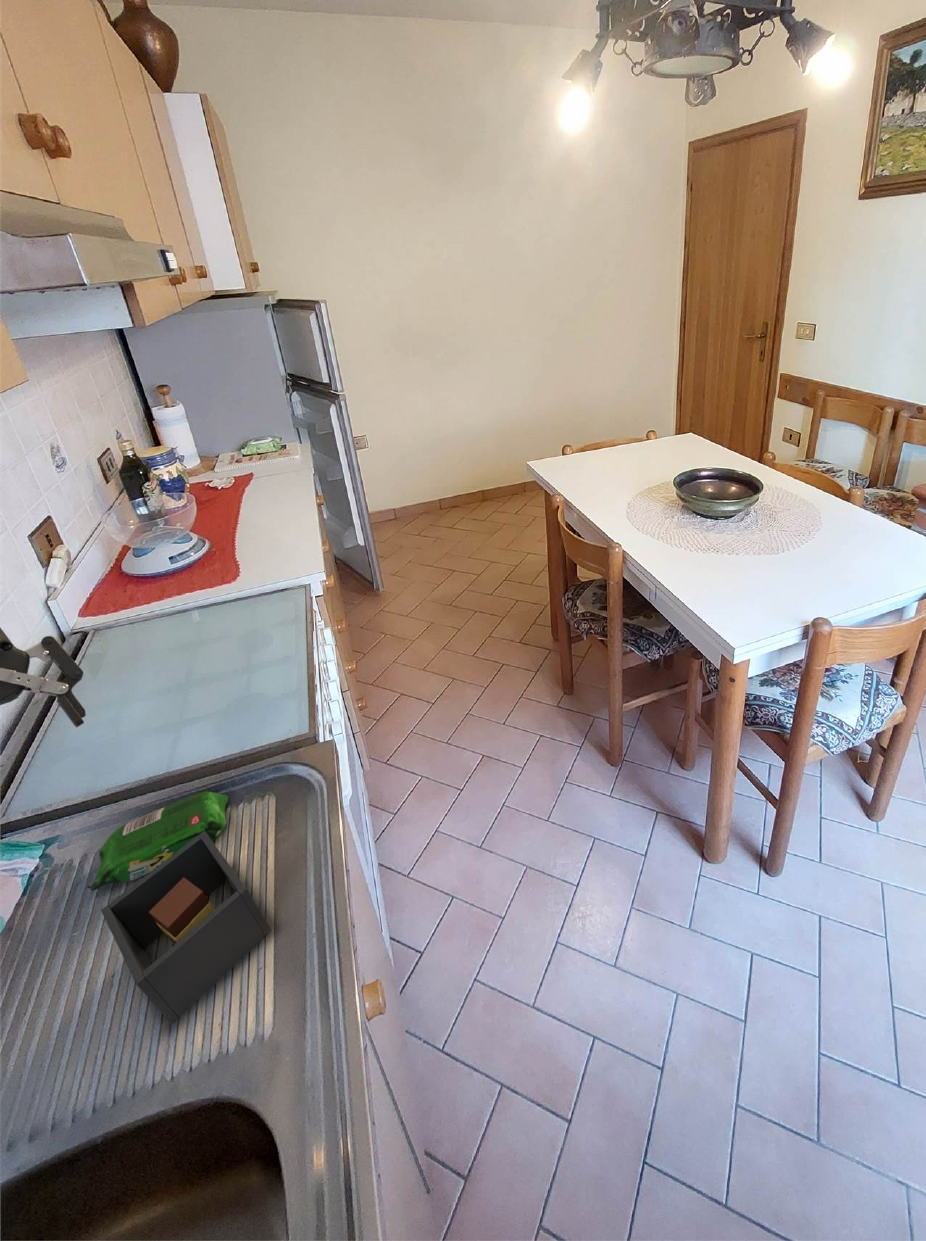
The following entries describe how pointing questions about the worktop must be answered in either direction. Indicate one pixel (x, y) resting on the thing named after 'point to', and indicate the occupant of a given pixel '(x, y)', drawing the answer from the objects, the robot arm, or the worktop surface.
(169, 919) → the brown yellow banded block
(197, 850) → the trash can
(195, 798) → the snack package
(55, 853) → the worktop surface
